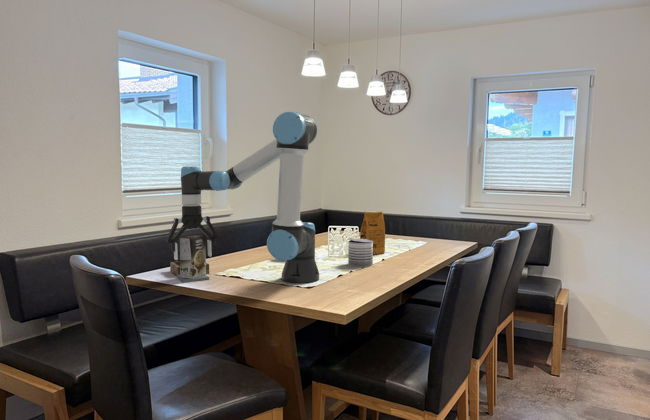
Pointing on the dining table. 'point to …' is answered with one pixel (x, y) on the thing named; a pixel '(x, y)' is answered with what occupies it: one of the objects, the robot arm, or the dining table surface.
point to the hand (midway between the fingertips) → (193, 257)
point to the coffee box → (192, 256)
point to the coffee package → (374, 230)
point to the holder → (176, 268)
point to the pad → (193, 279)
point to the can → (360, 252)
